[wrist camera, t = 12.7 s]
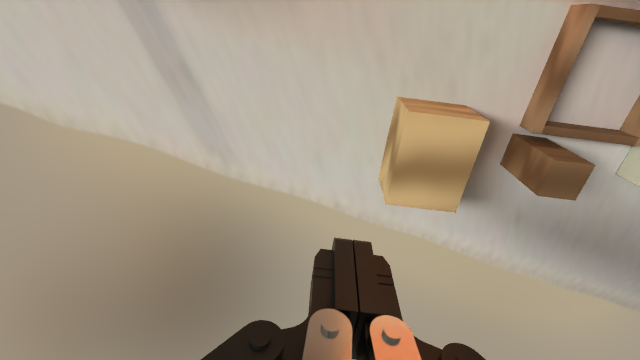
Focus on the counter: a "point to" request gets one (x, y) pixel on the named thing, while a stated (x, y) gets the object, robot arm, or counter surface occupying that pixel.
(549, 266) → the counter surface
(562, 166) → the post
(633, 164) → the tray
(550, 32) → the counter surface
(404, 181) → the natural wood cube
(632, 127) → the frame
